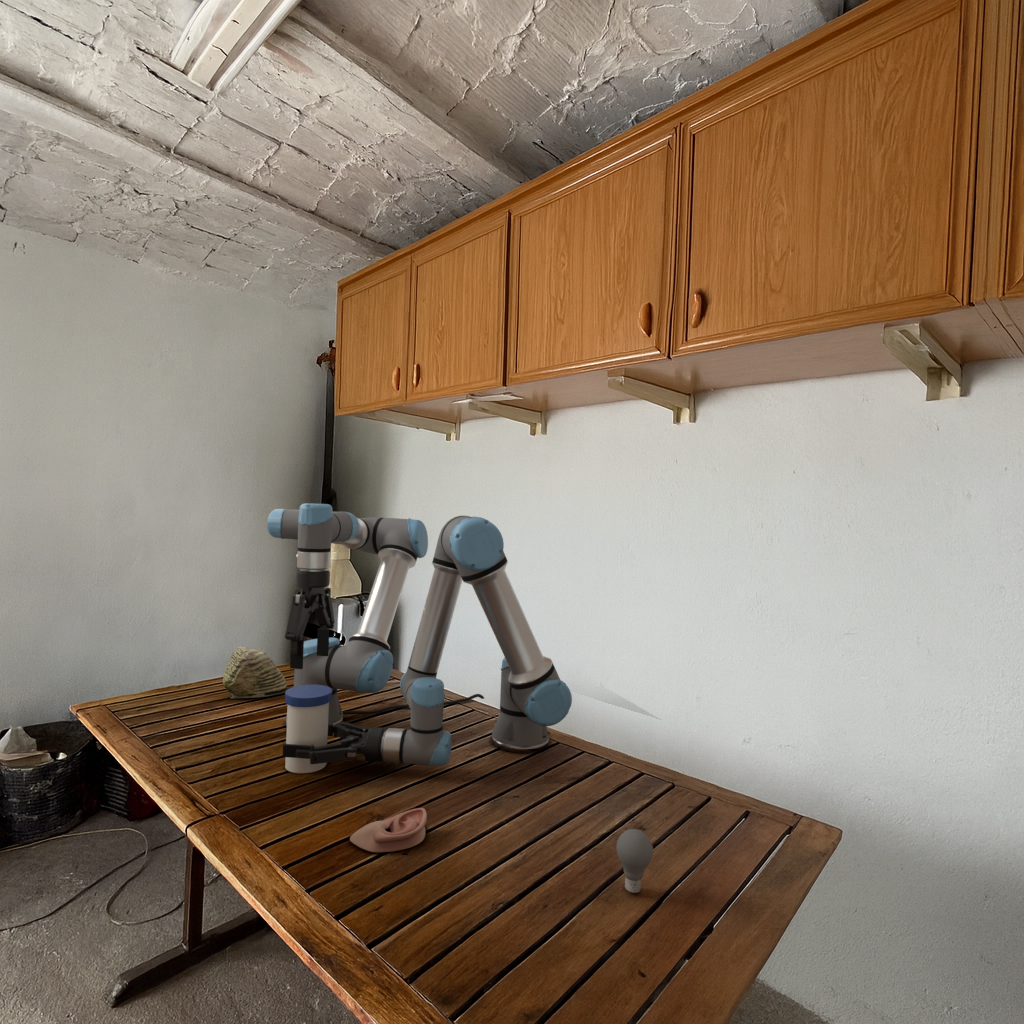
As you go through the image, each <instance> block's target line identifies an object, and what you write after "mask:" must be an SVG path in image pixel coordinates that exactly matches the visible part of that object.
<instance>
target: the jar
mask: <svg viewBox="0 0 1024 1024" xmlns="http://www.w3.org/2000/svg"><path fill="white" fill-rule="evenodd" d="M286 709H287V710H286V712H287V713H286V715H287V726H286V736H285V737H286V738H285V744H295V745H310V746H311V745H314V746H315V747H320V746H324V745H328V738H329V736H328V713H329V703H327V704H324V705H320V706H315V707H295V706H290V705H288V704H287V707H286ZM315 747H314V748H315ZM316 756H317V755H316ZM284 760H285V761H284V762H285V763H284V764H285V765H284V768H285V770H286V771H288V772H290V773H294V774H311V773H315V772H318V771H321V770H323V769H324V768H326V766H327V764H328V763H319V764H310V759H304V758H290V757H285V759H284Z"/></svg>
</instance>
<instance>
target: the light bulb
mask: <svg viewBox="0 0 1024 1024" xmlns="http://www.w3.org/2000/svg"><path fill="white" fill-rule="evenodd" d="M615 849H616V854H617V857H618V859H619V861H620V863H621V865H622V867H623V873H624V874H623V875H624V876H625V878H624V888H625V890H627V891H628V892H630V893H634V894H635V893H639V892H640V891H641V889H642V887H641V886H642V879H643V877H644V875H645V871H646V868H647V867H648V866H649V864H650V863H651V861H652V859H653V855H654V847H653V843H652V841H651V838H649V836H648V835H647V834H646V833H645V832H643V831H642V830H641V829H636V828H629V829H627V830H625V831H623V832H622V833H621V834H620V835H619V837H618V839H617V841H616V847H615Z"/></svg>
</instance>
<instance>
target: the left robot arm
mask: <svg viewBox="0 0 1024 1024" xmlns="http://www.w3.org/2000/svg"><path fill="white" fill-rule="evenodd" d="M266 522H267V523H266V529H267V531H268V533H269V535H270V536H271V537H273V538H276V539H281V540H284V539H285V540H297V554H296V567H297V569H298V570H297V571H296V577H295V585H296V586H297V587H299V588H300V593H299V594H296V593H295V594H293V595H292V603H291V608H290V612H289V617H288V622H287V626H286V630H285V634H284V639H286V640H287V641H288V640H289V641H290V658H289V659H290V660H289V669H294V672H293V687H295V686H300V685H324V686H327V687H330V688H331V689H332V700H331V701H330V702H329V713H328V724H333V725H334V724H336V723H338V724H339V722H340V721H344V715H345V716H347V715H372V714H373V715H374V714H378V713H382V712H385V711H391V710H395V709H406V708H407V709H410V707H409V705H408V703H407V704H396V705H389V706H385V707H381V708H378V709H371V710H343V709H342V706H341V702H340V699H339V695H338V690H342V691H350V692H358V693H360V694H366V693H367V694H376V693H379V692H380V691H381V690H383V689H384V687H385V686H386V685H387V684H388V682H389V680H390V678H391V675H392V673H393V670H394V665H393V664H394V656H393V653H392V652H391V646H390V645H389V643H388V638H389V636H390V632H391V628H392V626H393V622H394V619H395V615H396V612H397V608H398V606H399V603H400V599H401V595H402V592H403V590H404V586H405V582H406V579H407V577H408V574H409V573H408V572H409V569H412V568H414V567H415V566H416V563H417V560H418V559H422V558H425V557H426V555H427V552H428V549H429V536H428V531H427V527H426V525H425V523H424V522H423V521H422V520H420V519H413V518H410V517H409V518H396V517H380V516H376V517H357V516H356V515H355V514H353V513H352V512H348V511H342V510H341V511H333V506H332V505H331V504H328V503H307V502H306V503H302V504H301V505H300V506H299V509H290V508H289V509H288V508H275V509H274V510H271V511H270V513H269V515H268V517H267V521H266ZM332 544H333V545H334V544H335V545H341V546H343V547H345V548H346V549H349V550H356V551H360V552H363V553H368V554H371V555H377V556H378V558H379V560H380V563H379V566H378V569H377V571H376V575H375V578H374V581H373V584H372V587H371V590H370V592H369V596H368V599H367V602H366V604H365V607H364V611H363V613H362V617H361V620H360V623H359V626H358V629H357V632H356V633H354V634H352V635H350V636H349V638H348V641H347V644H346V645H341V641H340V639H339V638H337V637H330V630H333V629H334V628H335V616H334V608H333V603H332V602H333V601H332V588H331V587H329V586H330V584H331V582H330V581H331V572H330V570H329V569H330V568H331V566H332V565H331V561H332V558H331V557H332ZM313 613H314V615H315V617H316V620H317V623H318V625H319V628H317V638H313V639H307V640H304V639H303V636H304V633H305V630H306V627H307V625H308V622H309V619H310V616H311V614H313ZM464 698H465V699H464ZM464 698H459V699H454V700H449V701H448V700H447V701H444V706H448V705H449V706H450V705H454V704H459V703H465V702H468V701H471V700H473V699H475V698H480V699H482V700H484V699H485V697H484V695H483V694H481V693H475V694H473V695H472V694H471V696H468V697H464ZM285 726H286V727H287V714H286V715H285Z"/></svg>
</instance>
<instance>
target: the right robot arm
mask: <svg viewBox="0 0 1024 1024" xmlns="http://www.w3.org/2000/svg"><path fill="white" fill-rule="evenodd" d="M504 544H505V543H504V538H503V535H502V533H501V531H500V529H499V528H498V527H497V526H496V525H495V524H494V523H493V522H491V521H490V520H488V519H486V518H483V517H479V516H469V515H457V516H454V517H452V518H450V519H449V520H447V522H445V524H443V526H442V528H441V530H440V532H439V535H438V538H437V542H436V546H435V550H434V554H433V558H432V561H431V565H432V567H434V570H433V572H432V573H433V574H432V577H431V581H430V585H429V589H428V591H427V595H426V599H425V603H424V607H423V610H422V614H421V617H420V622H419V625H418V628H417V632H416V636H415V639H414V644H413V647H412V650H411V654H410V658H409V662H408V666H407V669H406V672H404V674H402V676H401V678H400V681H399V688H400V693H401V695H402V696H403V698H404V700H405V701H406V702H407V704H408V705H409V707H410V708H409V709H410V726H409V729H408V728H396V727H388V728H387V729H386V727H379V726H378V727H376V726H374V727H373V726H372V727H366V726H362V725H358V724H356V723H355V724H354V723H351V722H347V721H344V720H343V721H340V722H339V724H338V723H336V724H334V725H333V724H328V737H333V738H337V737H338V738H340V740H339V742H335V743H329V744H327V745H324V746H320V747H315V746H314V745H311V746H310V745H295V744H286V743H284V744H283V745H282V758H286V757H290V758H304V759H310V764H319V763H327V764H328V763H333V762H335V763H336V762H343V761H356V760H357V755H363V756H364V759H365V760H366V762H372V763H381V762H382V761H383V762H384V763H390V764H391V763H392V764H394V765H395V766H396V765H398V764H404V765H405V764H406V765H418V766H427V767H443V766H446V765H448V763H449V762H450V759H451V754H452V746H453V745H452V744H453V740H452V739H453V738H452V737H453V736H452V733H451V732H449V731H445V730H444V727H443V726H444V706H445V705H444V702H445V697H446V694H445V683H444V682H443V681H442V679H439V678H437V676H438V671H439V667H440V664H441V660H442V656H443V653H444V650H445V646H446V642H447V638H448V636H449V635H448V634H449V631H450V628H451V623H452V621H453V616H454V614H455V613H454V612H455V609H456V606H457V601H458V598H459V594H460V590H461V587H462V584H463V583H465V584H468V585H471V586H472V589H473V590H474V593H475V595H476V598H477V599H478V602H479V603H480V607H481V608H482V610H483V612H484V615H485V618H486V619H487V621H488V624H489V626H490V628H491V630H492V632H493V635H494V637H495V640H496V642H497V643H498V646H499V648H500V650H501V652H502V654H503V656H504V658H502V660H501V668H500V672H501V673H500V693H499V697H500V698H499V702H500V703H499V712H498V715H497V719H495V721H494V727H493V729H492V732H491V743H492V745H494V746H495V747H496V748H498V749H500V750H503V751H506V752H511V753H519V754H520V753H521V754H526V753H529V754H530V753H537V752H540V751H542V750H545V749H546V748H548V746H549V744H550V735H551V732H550V731H549V730H548V727H552V726H555V725H558V723H560V722H562V721H563V720H564V719H565V718H566V717H567V715H568V714H569V712H570V709H571V708H572V703H573V696H572V695H573V694H572V691H571V689H570V688H569V686H568V685H567V683H566V682H564V681H563V680H561V677H560V676H559V674H558V671H557V669H556V666H555V665H554V662H553V661H552V659H551V657H547V656H544V655H543V653H542V650H541V649H540V646H539V643H538V641H537V640H536V636H535V635H534V633H533V630H532V627H531V626H530V623H529V621H528V619H527V616H526V615H525V612H524V610H523V607H522V606H521V604H520V601H519V599H518V596H517V594H516V592H515V590H514V588H513V585H512V583H511V580H510V578H509V576H508V574H507V571H506V568H507V565H508V563H509V561H508V558H507V556H506V554H505V551H504V547H505V546H504ZM314 747H315V748H314ZM316 755H317V756H316Z"/></svg>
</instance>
